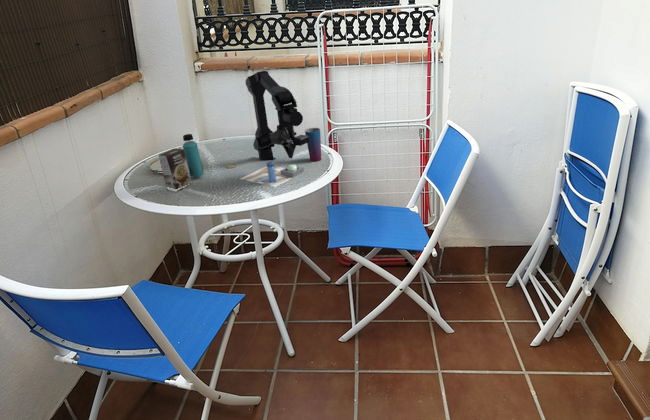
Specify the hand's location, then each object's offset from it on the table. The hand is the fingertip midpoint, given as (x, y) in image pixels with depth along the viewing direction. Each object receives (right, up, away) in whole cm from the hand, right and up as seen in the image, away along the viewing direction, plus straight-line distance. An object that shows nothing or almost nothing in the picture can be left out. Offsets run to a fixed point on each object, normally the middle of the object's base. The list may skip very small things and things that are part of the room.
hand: (290, 157), depth 204 cm
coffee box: (-48, -12, +5) cm, 50 cm away
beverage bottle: (-43, -8, +13) cm, 45 cm away
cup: (+10, 0, +17) cm, 20 cm away
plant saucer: (-58, -2, +31) cm, 65 cm away
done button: (+1, -6, +3) cm, 7 cm away
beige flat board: (-8, -8, +4) cm, 12 cm away
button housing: (+1, -6, +3) cm, 7 cm away
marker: (-7, -10, -3) cm, 13 cm away
